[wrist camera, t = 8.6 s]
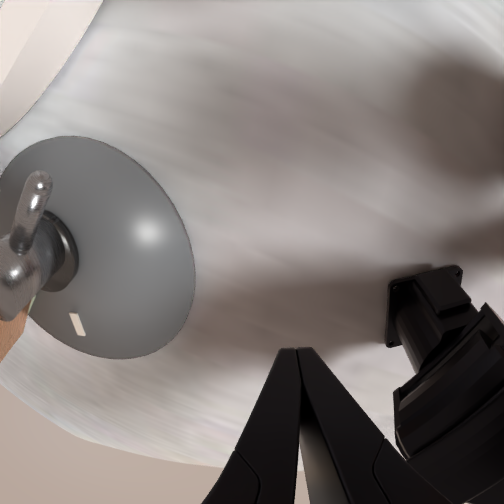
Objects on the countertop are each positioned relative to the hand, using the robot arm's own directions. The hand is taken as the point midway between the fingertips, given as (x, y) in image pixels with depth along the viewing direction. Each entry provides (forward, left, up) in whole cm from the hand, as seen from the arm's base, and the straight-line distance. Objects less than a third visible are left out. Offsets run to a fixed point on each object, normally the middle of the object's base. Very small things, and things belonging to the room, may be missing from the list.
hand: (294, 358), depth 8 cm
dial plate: (-1, +15, -12) cm, 19 cm away
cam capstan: (0, +18, -11) cm, 21 cm away
